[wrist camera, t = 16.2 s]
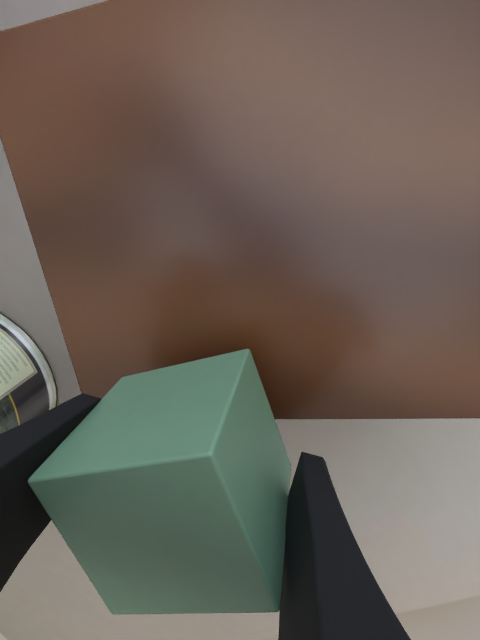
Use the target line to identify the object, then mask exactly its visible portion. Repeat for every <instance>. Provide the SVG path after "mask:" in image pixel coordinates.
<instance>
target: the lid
mask: <svg viewBox="0 0 480 640" xmlns="http://www.w3.org/2000/svg"><path fill="white" fill-rule="evenodd" d="M0 137H1V140H2V143H3V147H4V150H5V153H6V156H7V159H8V162H9V165H10V169H11V172H12V175H13V178H14V181H15V184H16V188H17V191H18V194H19V197H20V200H21V203H22V206H23V210H24V213H25V216H26V219H27V222H28V225H29V229H30V232H31V235H32V238H33V241H34V244H35V247H36V251H37V254H38V257H39V260H40V263H41V266H42V270H43V273H44V276H45V279H46V282H47V285H48V288H49V292H50V295H51V298H52V301H53V304H54V307H55V311H56V314H57V317H58V320H59V323H60V326H61V329H62V333H63V336H64V339H65V342H66V345H67V348H68V352H69V355H70V358H71V361H72V364H73V367H74V370H75V374H76V377H77V380H78V383H79V386H80V389H81V392H82V394H83V393H84V394H87V395H91V396H95V397H99V398H101V399H102V398H103V397H104V396H105V395H106V394H107V393H108V392H109V391H110V390H111V389H112V387H113V386H114V385H115V384H116V383H117V382H118V381H119V380H120V379H121V378H122V377H125V376H129V375H134V374H138V373H143V372H147V371H151V370H156V369H160V368H165V367H169V366H173V365H178V364H182V363H187V362H191V361H195V360H200V359H204V358H209V357H213V356H217V355H222V354H226V353H231V352H235V351H239V350H244V349H249V350H250V351H251V354H252V357H253V360H254V363H255V365H256V368H257V371H258V374H259V377H260V379H261V382H262V385H263V388H264V391H265V393H266V396H267V399H268V402H269V405H270V408H271V410H272V413H273V416H274V419H417V418H480V0H108V1H105V2H101V3H98V4H94V5H91V6H87V7H84V8H80V9H77V10H73V11H70V12H66V13H63V14H59V15H56V16H52V17H49V18H45V19H42V20H38V21H35V22H31V23H28V24H24V25H21V26H17V27H14V28H10V29H7V30H4V31H0Z"/></svg>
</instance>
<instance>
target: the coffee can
mask: <svg viewBox="0 0 480 640" xmlns="http://www.w3.org/2000/svg"><path fill="white" fill-rule="evenodd" d="M56 399H57V397H56V386H55V382H54V378H53V375H52V372H51V370H50V367H49V365H48V363H47V361H46V359H45V357H44V356H43V354H42V353H41V351H40V350H39V348H38V347H37V346H36V344H35V343H34V342H33V341H32V339H31V338H30V337H29V336H28V335H27V334H26V333H25V332H24V331H23V330H22V329H20V328H19V327H18V326H17V325H16V324H14V323H13V322H12V321H10V320H9V319H8V318H6V317H4V316H3V315H2V314H0V434H1V433H3V432H5V431H8V430H10V429H12V428H14V427H16V426H18V425H20V424H22V423H24V422H26V421H28V420H31V419H33V418H35V417H37V416H39V415H41V414H43V413H45V412H47V411H49V410H51V409H53V408H54V407H56Z"/></svg>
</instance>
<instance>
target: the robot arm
mask: <svg viewBox="0 0 480 640" xmlns="http://www.w3.org/2000/svg"><path fill="white" fill-rule="evenodd" d="M100 401H101V398H99V397H95V396H91V395H87V394H84V393H83V394H81V395H79V396H76V397H74V398H72V399H70V400H68V401H66V402H64V403H62V404H60V405H58V406H56V407H54V408H53V409H51V410H49V411H47V412H45V413H43V414H41V415H39V416H37V417H35V418H33V419H31V420H28V421H26V422H24V423H22V424H20V425H18V426H16V427H14V428H12V429H10V430H8V431H5V432H3V433H1V434H0V592H1V590H2V589H3V587H4V585H5V584H6V582H7V581H8V579H9V578H10V576H11V575H12V573H13V571H14V570H15V568H16V567H17V565H18V564H19V562H20V561H21V559H22V558H23V557H24V555H25V554H26V552H27V551H28V550H29V548H30V547H31V546H32V544H33V543H34V542H35V540H36V539H37V538H38V536H39V535H40V534H41V533H42V531H43V530H44V529H45V527H46V526H47V525H48V524H49V522H50V521H51V518H50V517H49V515H48V513H47V512H46V510H45V509H44V507H43V506H42V504H41V502H40V501H39V499H38V498H37V496H36V495H35V493H34V492H33V490H32V488H31V487H30V485H29V484H28V479H29V478H30V477H31V476H32V475H33V473H34V472H35V471H36V470H37V469H38V468H39V467H40V466H41V465H42V464H43V463H44V461H45V460H46V459H47V458H48V457H49V456H50V455H51V454H52V453H53V452H54V451H55V449H56V448H57V447H58V446H59V445H60V444H61V443H62V442H63V441H64V440H65V439H66V438H67V436H68V435H69V434H70V433H71V432H72V431H73V430H74V429H75V428H76V427H77V426H78V425H79V424H80V423H81V422H82V421H83V419H84V418H85V417H86V416H87V415H88V414H89V413H90V412H91V411H92V410H93V409H94V407H95V406H96V405H97V404H98V403H99V402H100ZM278 640H411V639H410V638H409V636H408V635H407V633H406V632H405V630H404V628H403V627H402V625H401V623H400V622H399V620H398V618H397V617H396V615H395V613H394V612H393V610H392V608H391V607H390V605H389V603H388V601H387V600H386V598H385V596H384V594H383V593H382V591H381V589H380V587H379V586H378V584H377V582H376V580H375V578H374V576H373V574H372V572H371V571H370V569H369V567H368V565H367V563H366V561H365V559H364V557H363V555H362V552H361V550H360V548H359V546H358V544H357V542H356V540H355V538H354V536H353V533H352V531H351V529H350V527H349V524H348V522H347V519H346V517H345V515H344V512H343V510H342V508H341V505H340V503H339V500H338V497H337V495H336V492H335V489H334V487H333V484H332V481H331V478H330V475H329V472H328V469H327V466H326V462H325V460H324V459H323V457H319V456H316V455H312V454H308V453H304V452H302V453H301V456H300V459H299V463H298V466H297V469H296V472H295V475H294V479H293V482H292V485H291V488H290V492H289V495H288V502H287V514H286V529H285V551H284V563H283V575H282V588H281V600H280V618H279V639H278Z"/></svg>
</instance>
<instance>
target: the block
mask: <svg viewBox="0 0 480 640" xmlns="http://www.w3.org/2000/svg"><path fill="white" fill-rule="evenodd" d="M290 476H291V464H290V461H289V458H288V455H287V452H286V450H285V447H284V444H283V441H282V438H281V436H280V433H279V430H278V427H277V424H276V422H275V419H274V416H273V413H272V410H271V408H270V405H269V402H268V399H267V396H266V393H265V391H264V388H263V385H262V382H261V379H260V377H259V374H258V371H257V368H256V365H255V363H254V360H253V357H252V354H251V351H250V350H249V349H244V350H239V351H235V352H231V353H226V354H222V355H217V356H213V357H209V358H204V359H200V360H195V361H191V362H187V363H182V364H178V365H173V366H169V367H165V368H160V369H156V370H151V371H147V372H143V373H138V374H134V375H129V376H125V377H122V378H121V379H120V380H119V381H118V382H117V383H116V384H115V385H114V386H113V387H112V389H111V390H110V391H109V392H108V393H107V394H106V395H105V396H104V397H103V398H102V399H101V401H100V402H99V403H98V404H97V405H96V406H95V407H94V409H93V410H92V411H91V412H90V413H89V414H88V415H87V416H86V417H85V418H84V419H83V421H82V422H81V423H80V424H79V425H78V426H77V427H76V428H75V429H74V430H73V431H72V432H71V433H70V434H69V435H68V436H67V438H66V439H65V440H64V441H63V442H62V443H61V444H60V445H59V446H58V447H57V448H56V449H55V451H54V452H53V453H52V454H51V455H50V456H49V457H48V458H47V459H46V460H45V461H44V463H43V464H42V465H41V466H40V467H39V468H38V469H37V470H36V471H35V472H34V473H33V475H32V476H31V477H30V478H29V479H28V484H29V485H30V487H31V488H32V490H33V492H34V493H35V495H36V496H37V498H38V499H39V501H40V502H41V504H42V506H43V507H44V509H45V510H46V512H47V513H48V515H49V517H50V518H51V520H52V521H53V523H54V524H55V526H56V527H57V529H58V531H59V532H60V534H61V535H62V537H63V538H64V540H65V542H66V543H67V545H68V546H69V548H70V549H71V551H72V552H73V554H74V556H75V557H76V559H77V560H78V562H79V563H80V565H81V566H82V568H83V570H84V571H85V573H86V574H87V576H88V577H89V579H90V581H91V582H92V584H93V585H94V587H95V588H96V590H97V591H98V593H99V595H100V596H101V598H102V599H103V601H104V602H105V604H106V606H107V607H108V609H109V610H110V612H111V613H112V614H185V613H255V612H278V611H279V609H280V600H281V588H282V575H283V563H284V551H285V529H286V514H287V502H288V495H289V489H290Z"/></svg>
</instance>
